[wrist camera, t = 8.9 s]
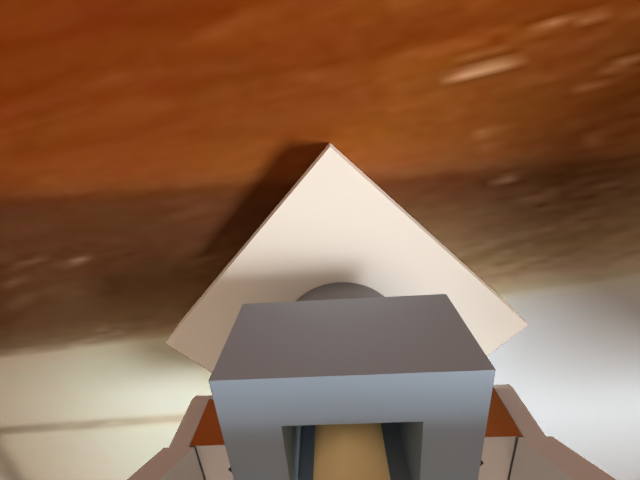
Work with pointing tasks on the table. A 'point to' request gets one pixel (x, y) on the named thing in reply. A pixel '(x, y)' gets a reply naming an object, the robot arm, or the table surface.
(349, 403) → the ring
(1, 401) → the table surface
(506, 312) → the hub
